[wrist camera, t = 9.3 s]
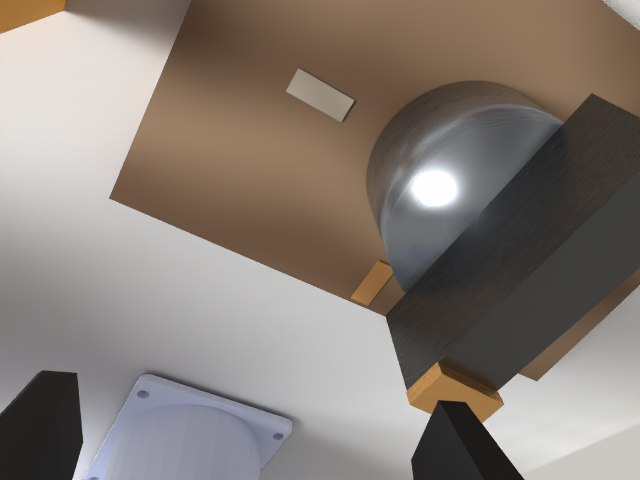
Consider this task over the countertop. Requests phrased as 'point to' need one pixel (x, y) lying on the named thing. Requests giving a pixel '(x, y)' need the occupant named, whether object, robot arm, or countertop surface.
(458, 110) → the twist cap
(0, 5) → the pipe clamp
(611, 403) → the countertop surface
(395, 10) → the base plate
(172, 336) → the countertop surface
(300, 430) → the countertop surface
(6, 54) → the countertop surface
